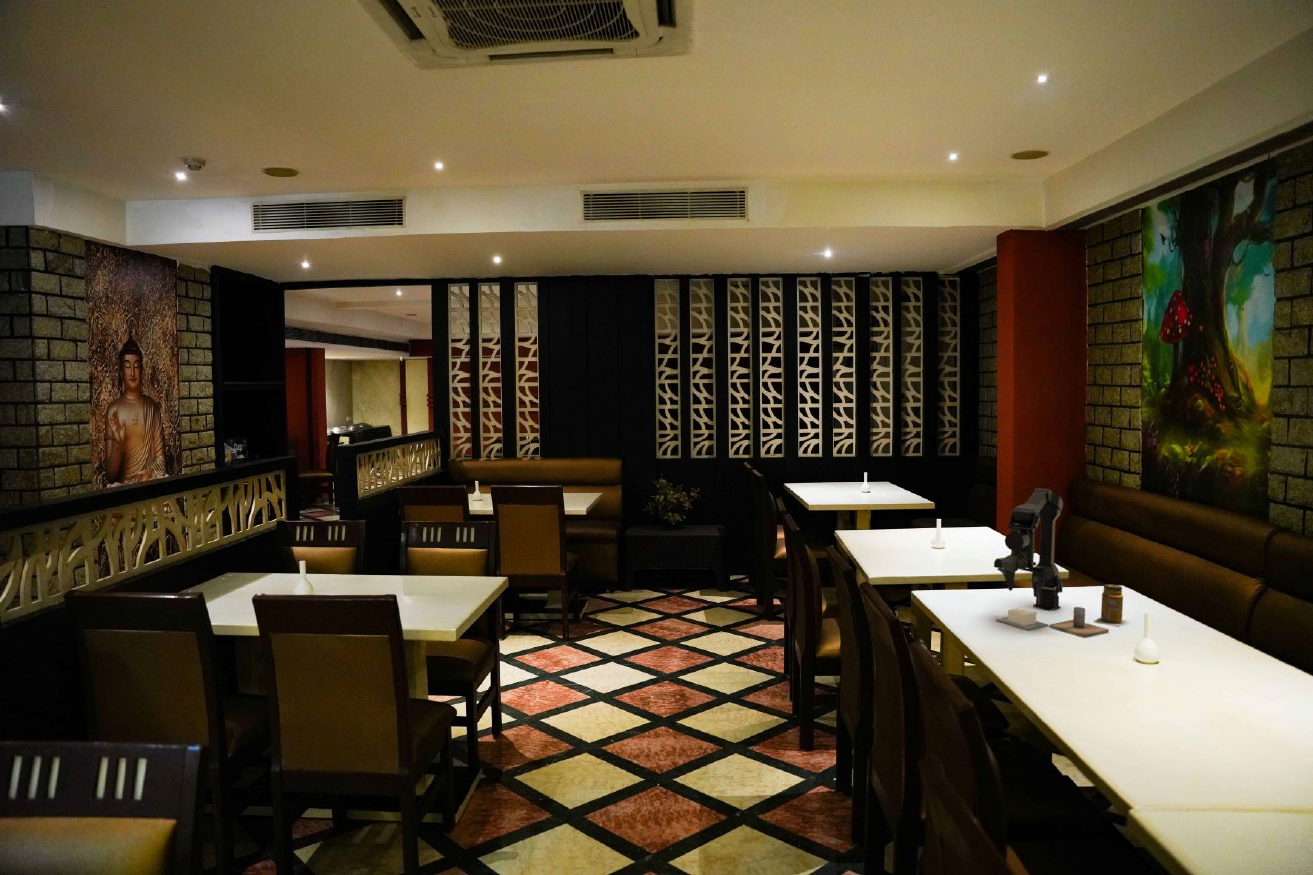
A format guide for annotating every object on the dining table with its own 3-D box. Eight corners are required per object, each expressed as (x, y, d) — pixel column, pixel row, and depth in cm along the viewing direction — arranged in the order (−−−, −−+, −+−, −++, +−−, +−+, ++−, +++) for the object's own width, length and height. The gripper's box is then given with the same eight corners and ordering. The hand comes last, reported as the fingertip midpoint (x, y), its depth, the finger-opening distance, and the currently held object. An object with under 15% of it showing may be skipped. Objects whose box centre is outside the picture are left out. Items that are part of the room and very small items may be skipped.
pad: (996, 620, 260) (996, 619, 260) (1016, 616, 265) (1016, 615, 265) (1028, 630, 250) (1028, 628, 250) (1048, 626, 254) (1048, 624, 254)
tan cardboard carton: (1019, 618, 261) (1020, 607, 261) (1036, 622, 256) (1036, 612, 256) (1007, 620, 258) (1008, 610, 258) (1023, 625, 253) (1024, 614, 253)
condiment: (1126, 621, 260) (1127, 585, 259) (1118, 626, 254) (1119, 590, 254) (1102, 616, 265) (1103, 581, 265) (1093, 622, 260) (1095, 586, 259)
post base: (1049, 627, 253) (1050, 606, 253) (1072, 622, 259) (1073, 601, 258) (1084, 637, 242) (1085, 615, 242) (1108, 632, 248) (1109, 610, 248)
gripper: (983, 543, 260) (982, 589, 261) (1033, 553, 244) (1032, 603, 245) (1005, 540, 265) (1004, 586, 266) (1056, 550, 249) (1055, 599, 250)
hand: (1022, 593), depth 257 cm, fingers open, 9 cm apart
